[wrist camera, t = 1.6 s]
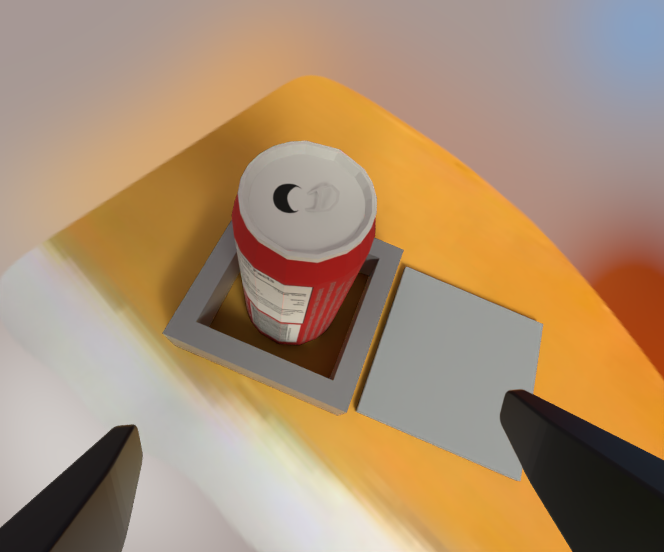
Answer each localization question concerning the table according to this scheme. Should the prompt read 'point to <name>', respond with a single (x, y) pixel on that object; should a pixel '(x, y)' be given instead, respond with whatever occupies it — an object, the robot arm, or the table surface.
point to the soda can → (301, 237)
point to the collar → (269, 369)
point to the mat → (451, 370)
